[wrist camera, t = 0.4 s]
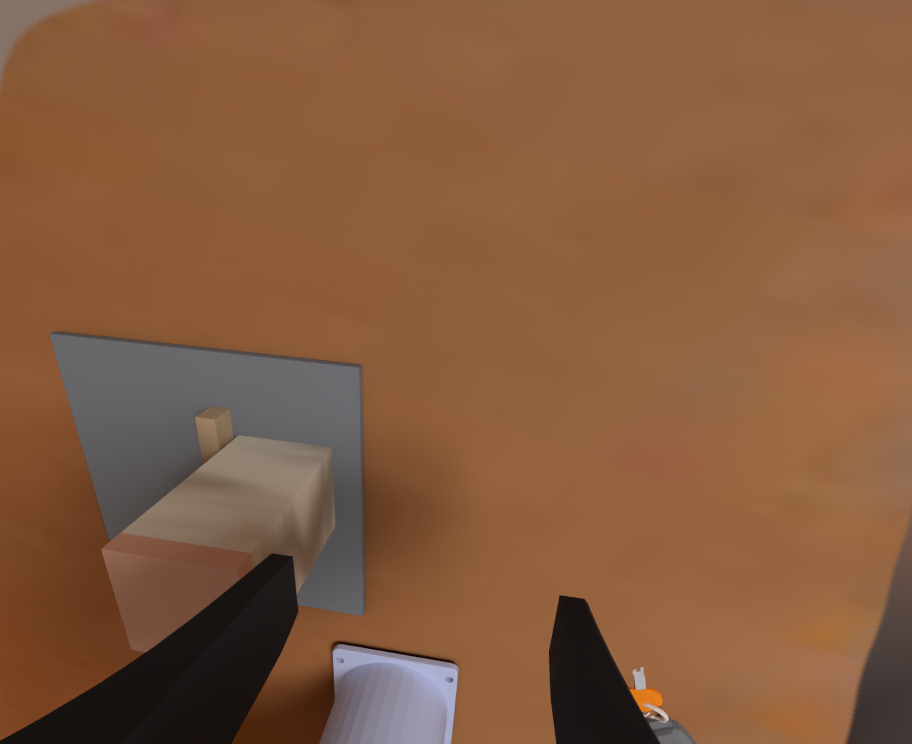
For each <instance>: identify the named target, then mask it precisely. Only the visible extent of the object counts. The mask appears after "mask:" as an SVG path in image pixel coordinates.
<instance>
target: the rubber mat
mask: <svg viewBox="0 0 912 744" xmlns="http://www.w3.org/2000/svg"><path fill="white" fill-rule="evenodd" d="M50 338H51V341H52V345H53V348H54V352H55V355H56V359H57V362H58V366H59V369H60V372H61V376H62V379H63V383H64V386H65V390H66V393H67V397H68V400H69V404H70V407H71V411H72V414H73V417H74V421H75V424H76V428H77V431H78V435H79V438H80V442H81V445H82V449H83V452H84V455H85V459H86V462H87V466H88V469H89V473H90V476H91V480H92V483H93V487H94V490H95V493H96V497H97V500H98V504H99V507H100V511H101V514H102V518H103V521H104V525H105V528H106V531H107V535H108V538H109V542H110V541H111V540H112V539H114V538H115V537H116V536H117V535H119V534H120V533H121V532H122V531H123V530H125V529H126V528H127V527H128V526H129V525H131V524H132V523H133V522H134V521H136V520H137V519H138V518H139V517H140V516H142V515H143V514H144V513H145V512H146V511H148V510H149V509H150V508H151V507H152V506H154V505H155V504H156V503H157V502H159V501H160V500H161V499H162V498H163V497H165V496H166V495H167V494H168V493H169V492H171V491H172V490H173V489H174V488H176V487H177V486H178V485H179V484H180V483H182V482H183V481H184V480H185V479H186V478H188V477H189V476H190V475H191V474H193V473H194V472H195V471H196V470H197V469H199V468H200V467H201V466H202V465H203V461H202V455H201V449H200V443H199V438H198V432H197V426H196V420H195V417H196V416H197V415H199V414H200V413H202V412H203V411H205V410H206V409H208V408H209V407H211V406H212V407H221V408H229V409H230V414H231V421H232V428H233V436H234V439H235V438H236V437H237V436H239V435H240V436H248V437H256V438H264V439H271V440H279V441H287V442H295V443H303V444H310V445H318V446H326V447H332V463H333V485H334V507H335V528H334V529H333V531H332V533H331V535H330V536H329V538H328V540H327V542H326V544H325V545H324V547H323V549H322V551H321V552H320V554H319V556H318V558H317V560H316V561H315V563H314V565H313V567H312V568H311V570H310V572H309V574H308V576H307V577H306V579H305V581H304V583H303V584H302V586H301V588H300V590H299V592H298V593H297V603H298V605H300V606H306V607H312V608H318V609H324V610H330V611H336V612H342V613H348V614H354V615H361V616H363V615H364V613H365V546H364V476H363V406H362V365H360V364H351V363H342V362H333V361H324V360H314V359H305V358H296V357H287V356H278V355H269V354H259V353H250V352H241V351H232V350H223V349H214V348H204V347H195V346H186V345H177V344H168V343H159V342H149V341H140V340H131V339H122V338H113V337H103V336H94V335H85V334H76V333H67V332H58V331H57V332H53V333H50Z"/></svg>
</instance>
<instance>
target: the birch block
mask: <svg viewBox="0 0 912 744" xmlns="http://www.w3.org/2000/svg"><path fill="white" fill-rule="evenodd" d="M334 528H335V507H334V485H333V463H332V447H326V446H318V445H310V444H303V443H295V442H287V441H279V440H271V439H264V438H256V437H248V436H240V435H239V436H237V437H236V438H235V439H234V440H233V441H231V442H230V443H229V444H228V445H226V446H225V447H224V448H223V449H222V450H220V451H219V452H218V453H217V454H216V455H214V456H213V457H212V458H211V459H209V460H208V461H207V462H206V463H205V464H203V465H202V466H201V467H200V468H199V469H197V470H196V471H195V472H194V473H193V474H191V475H190V476H189V477H188V478H186V479H185V480H184V481H183V482H182V483H180V484H179V485H178V486H177V487H176V488H174V489H173V490H172V491H171V492H169V493H168V494H167V495H166V496H165V497H163V498H162V499H161V500H160V501H159V502H157V503H156V504H155V505H154V506H152V507H151V508H150V509H149V510H148V511H146V512H145V513H144V514H143V515H142V516H140V517H139V518H138V519H137V520H136V521H134V522H133V523H132V524H131V525H129V526H128V527H127V528H126V529H125V530H123V531H122V532H121V533H120V534H119V535H117V536H116V537H115V538H114V539H112V540H111V541H110V542H109V543H108V544H106V545H105V546H104V547H103V548H102V549H101V551H102V554H103V558H104V561H105V564H106V568H107V571H108V574H109V578H110V581H111V584H112V588H113V591H114V594H115V598H116V601H117V604H118V608H119V611H120V614H121V618H122V621H123V624H124V628H125V631H126V634H127V637H128V641H129V644H130V647H131V650H136V651H141V652H147V651H148V650H150V649H151V648H153V647H154V646H155V645H157V644H158V643H159V642H161V641H162V640H163V639H165V638H166V637H167V636H169V635H170V634H172V633H173V632H174V631H176V630H177V629H178V628H180V627H181V626H182V625H184V624H185V623H186V622H188V621H189V620H190V619H191V618H193V617H194V616H195V615H197V614H198V613H199V612H200V611H202V610H203V609H204V608H205V607H207V606H208V605H209V604H210V603H212V602H213V601H214V600H215V599H217V598H218V597H219V596H220V595H222V594H223V593H224V592H225V591H227V590H228V589H229V588H230V587H231V586H233V585H234V584H235V583H236V582H237V581H239V580H240V579H241V578H242V577H243V576H245V575H246V574H247V573H248V572H249V571H251V570H252V569H253V568H254V567H256V566H257V565H258V564H259V563H260V562H262V561H263V560H264V559H265V558H267V557H268V556H269V555H270V554H272V553H273V554H280V555H287V556H293V562H294V572H295V582H296V593H298V592H299V590H300V588H301V586H302V584H303V583H304V581H305V579H306V577H307V576H308V574H309V572H310V570H311V568H312V567H313V565H314V563H315V561H316V560H317V558H318V556H319V554H320V552H321V551H322V549H323V547H324V545H325V544H326V542H327V540H328V538H329V536H330V535H331V533H332V531H333V529H334Z"/></svg>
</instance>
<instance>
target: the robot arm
mask: <svg viewBox="0 0 912 744" xmlns="http://www.w3.org/2000/svg"><path fill="white" fill-rule="evenodd" d="M297 614H298V603H297V593H296V582H295V572H294V562H293V556H287V555H280V554H273V553H272V554H270V555H269V556H268V557H267V558H265V559H264V560H263V561H262V562H260V563H259V564H258V565H257V566H256V567H254V568H253V569H252V570H251V571H249V572H248V573H247V574H246V575H245V576H243V577H242V578H241V579H240V580H239V581H237V582H236V583H235V584H234V585H233V586H231V587H230V588H229V589H228V590H227V591H225V592H224V593H223V594H222V595H220V596H219V597H218V598H217V599H215V600H214V601H213V602H212V603H210V604H209V605H208V606H207V607H205V608H204V609H203V610H202V611H200V612H199V613H198V614H197V615H195V616H194V617H193V618H191V619H190V620H189V621H188V622H186V623H185V624H184V625H182V626H181V627H180V628H178V629H177V630H176V631H174V632H173V633H172V634H170V635H169V636H167V637H166V638H165V639H163V640H162V641H161V642H159V643H158V644H157V645H155V646H154V647H153V648H151V649H150V650H148V651H147V652H145V653H144V654H143V655H141V656H140V657H138V658H137V659H135V660H134V661H133V662H131V663H130V664H128V665H127V666H125V667H124V668H122V669H121V670H119V671H118V672H116V673H115V674H113V675H111V676H110V677H108V678H107V679H105V680H104V681H102V682H101V683H99V684H98V685H96V686H94V687H93V688H91V689H89V690H88V691H86V692H84V693H83V694H81V695H79V696H78V697H76V698H74V699H73V700H71V701H69V702H68V703H66V704H64V705H63V706H61V707H59V708H57V709H56V710H54V711H52V712H51V713H49V714H47V715H46V716H44V717H42V718H41V719H39V720H37V721H35V722H34V723H32V724H30V725H28V726H26V727H24V728H23V729H21V730H19V731H17V732H15V733H14V734H12V735H10V736H8V737H6V738H4V739H3V740H1V741H0V744H231V743H232V741H233V739H234V738H235V736H236V734H237V732H238V730H239V729H240V727H241V725H242V723H243V721H244V720H245V718H246V716H247V714H248V712H249V711H250V709H251V707H252V705H253V703H254V701H255V700H256V698H257V696H258V694H259V692H260V691H261V689H262V687H263V685H264V683H265V682H266V680H267V678H268V676H269V674H270V672H271V671H272V669H273V667H274V665H275V663H276V661H277V659H278V658H279V656H280V654H281V652H282V650H283V647H284V645H285V643H286V640H287V638H288V636H289V633H290V631H291V629H292V626H293V624H294V621H295V619H296V616H297ZM549 667H550V694H551V705H552V713H553V721H554V728H555V736H556V744H661V743H660V741H659V740H658V738H657V737H656V735H655V733H654V731H653V730H652V728H651V726H650V725H649V723H648V721H647V720H646V718H645V716H644V715H643V713H642V711H641V709H640V708H639V706H638V704H637V702H636V701H635V699H634V697H633V695H632V693H631V692H630V690H629V688H628V686H627V684H626V682H625V680H624V678H623V677H622V675H621V673H620V671H619V669H618V667H617V665H616V663H615V661H614V659H613V657H612V656H611V653H610V651H609V649H608V647H607V645H606V643H605V641H604V639H603V637H602V635H601V633H600V631H599V628H598V626H597V624H596V622H595V620H594V617H593V615H592V613H591V610H590V608H589V605H588V603H587V602H586V601H585V599H581V598H574V597H568V596H561V595H560V597H559V602H558V607H557V613H556V618H555V623H554V628H553V633H552V639H551V644H550V649H549ZM333 671H334V689H335V701H334V704H333V707H332V710H331V712H330V715H329V718H328V721H327V723H326V726H325V729H324V732H323V734H322V737H321V740H320V743H319V744H451V739H452V729H453V719H454V709H455V699H456V690H457V680H458V667H457V666H456V665H455V664H453V663H448V662H443V661H437V660H431V659H425V658H419V657H414V656H408V655H402V654H396V653H390V652H385V651H379V650H373V649H367V648H362V647H356V646H350V645H344V644H338V645H336V646H335V647H334V650H333Z"/></svg>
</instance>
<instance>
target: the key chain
mask: <svg viewBox="0 0 912 744" xmlns="http://www.w3.org/2000/svg"><path fill="white" fill-rule="evenodd" d="M640 669H641V671H640V672H636V669H635V670H634V671H633V676H634V679H635V688H629V690H630V692H631V693H632V695H633V697H634V699H635V701H636V702H637V704H638V706H639V708H640V709H641V711H642V712H643V711H651V710H654V711H656V712H657V713H659V714H660V715H661V716H650V718H647V719H646V720H647V721H648V723H649V725H650V726H651V728H652V730H653V731H654V733H655V735H656V737H657V738H658V740H659V741H660V743H661V744H696V743H695V741H694V740H693V739H692V737H691V736H690V735H689V733H688V732H687V731H686V729H685V728H684V727H683V726H682V725H681V724H680V723H679V722H678V721H674V720H671V719H670V717H669V716H667V714H666V713H665V712H664V711H663V710H662V709H660V708H659V706H661V705H662V701H663V699H662V696H661V694H660V693H659V692H658V691H657V690H655V689H652V688H648V687H646V684H645V675H643V670H644V668H640ZM649 714H650V713H647V714H643V715H644V716H645V717H646V716H648V715H649Z"/></svg>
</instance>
